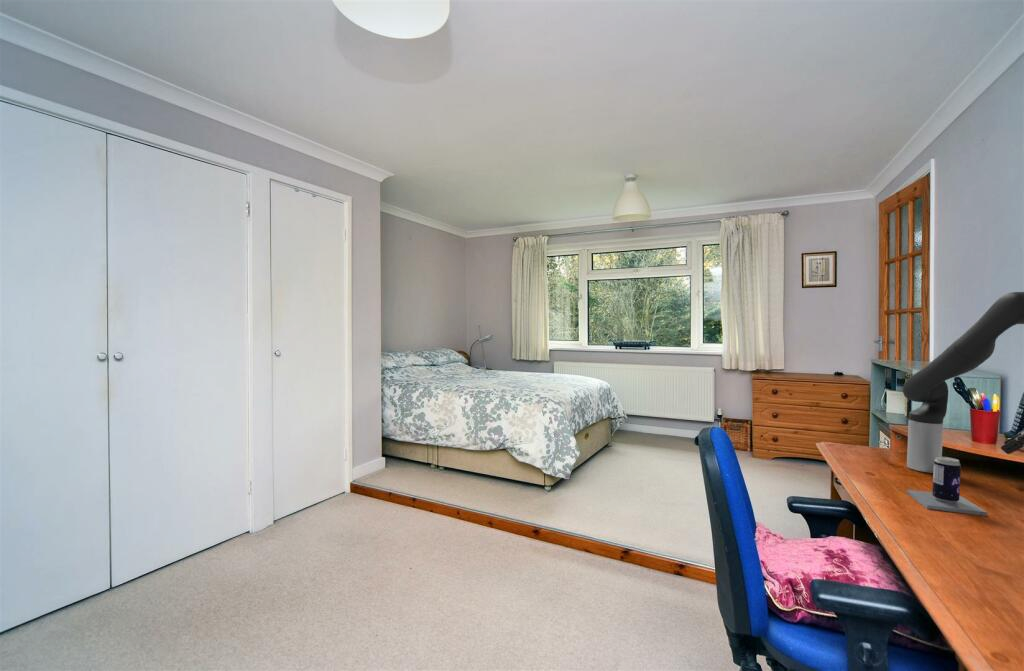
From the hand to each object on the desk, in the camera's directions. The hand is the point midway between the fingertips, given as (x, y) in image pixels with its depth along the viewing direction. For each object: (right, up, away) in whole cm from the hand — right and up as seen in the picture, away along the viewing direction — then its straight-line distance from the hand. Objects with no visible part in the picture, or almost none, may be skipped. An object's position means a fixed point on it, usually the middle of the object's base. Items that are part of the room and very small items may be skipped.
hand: (1005, 448), depth 125 cm
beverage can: (-7, -17, +9) cm, 21 cm away
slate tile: (-8, -18, +9) cm, 22 cm away
